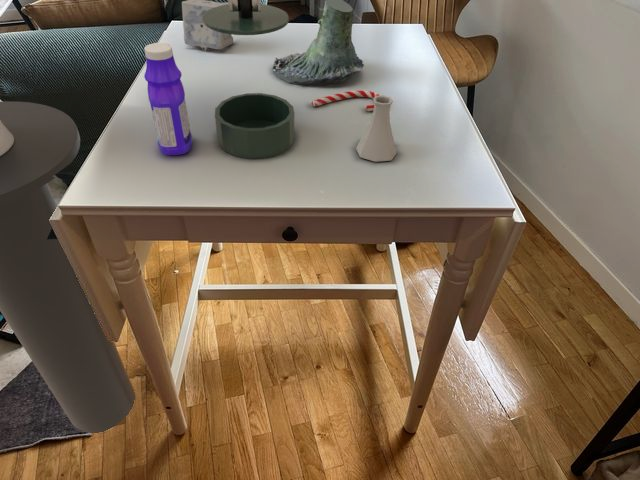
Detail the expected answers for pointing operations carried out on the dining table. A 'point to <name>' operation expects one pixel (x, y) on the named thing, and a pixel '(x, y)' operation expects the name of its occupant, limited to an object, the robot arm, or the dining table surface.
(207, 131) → the dining table surface
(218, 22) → the bin lid
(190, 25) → the incense holder
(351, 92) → the candy cane
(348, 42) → the tree stump
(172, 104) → the bottle
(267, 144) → the bin
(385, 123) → the flask
